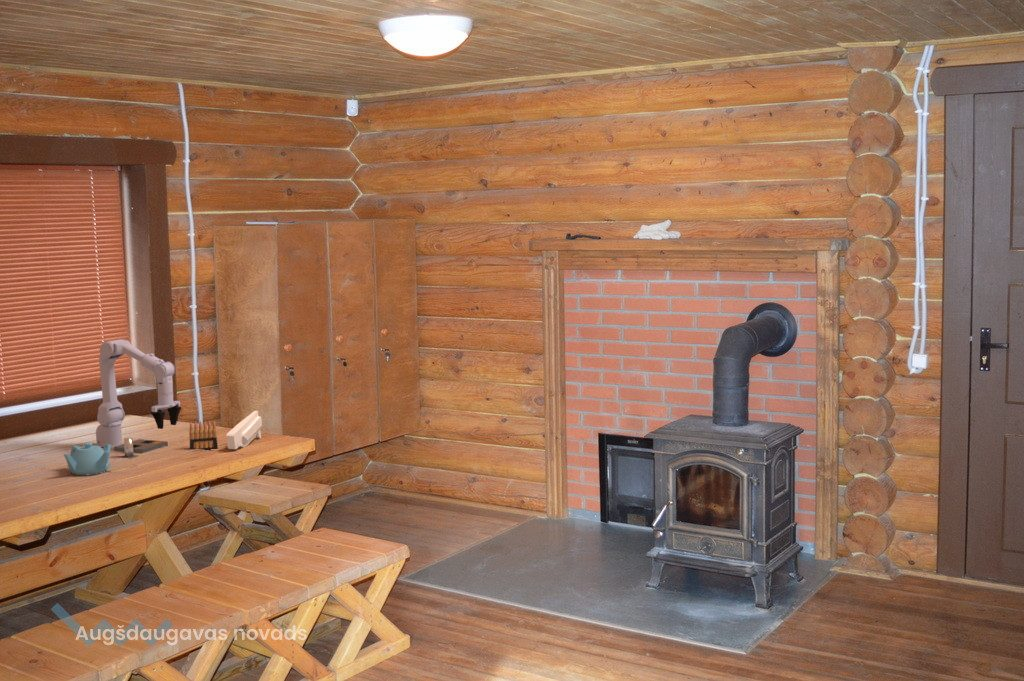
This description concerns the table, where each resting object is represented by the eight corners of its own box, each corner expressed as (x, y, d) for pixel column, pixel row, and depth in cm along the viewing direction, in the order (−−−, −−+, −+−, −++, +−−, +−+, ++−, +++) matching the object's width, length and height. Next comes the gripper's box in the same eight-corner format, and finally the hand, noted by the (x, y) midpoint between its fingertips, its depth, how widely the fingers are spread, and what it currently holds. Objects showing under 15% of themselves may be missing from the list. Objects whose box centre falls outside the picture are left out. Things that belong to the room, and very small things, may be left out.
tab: (118, 459, 404) (118, 457, 404) (127, 457, 409) (127, 454, 409) (131, 461, 402) (131, 458, 402) (140, 458, 407) (139, 455, 407)
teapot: (114, 465, 396) (113, 437, 394) (110, 475, 381) (108, 445, 380) (71, 468, 392) (69, 440, 390) (65, 478, 377) (63, 448, 376)
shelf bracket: (266, 438, 442) (262, 411, 438) (240, 464, 419) (236, 435, 415) (253, 438, 443) (250, 410, 439) (227, 463, 420) (223, 434, 416)
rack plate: (114, 452, 416) (113, 446, 416) (139, 445, 430) (139, 438, 430) (142, 455, 411) (142, 449, 411) (167, 447, 425) (167, 441, 425)
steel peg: (123, 457, 405) (122, 439, 404) (128, 455, 408) (127, 437, 407) (129, 457, 403) (128, 439, 403) (135, 455, 406) (134, 438, 406)
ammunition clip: (217, 448, 423) (216, 419, 421) (217, 449, 421) (216, 420, 420) (189, 451, 419) (188, 421, 417) (190, 452, 417) (188, 422, 416)
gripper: (161, 396, 407) (162, 430, 409) (185, 390, 420) (187, 424, 422) (146, 395, 410) (148, 429, 411) (171, 389, 423) (173, 422, 425)
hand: (167, 426), depth 417 cm, fingers open, 7 cm apart
